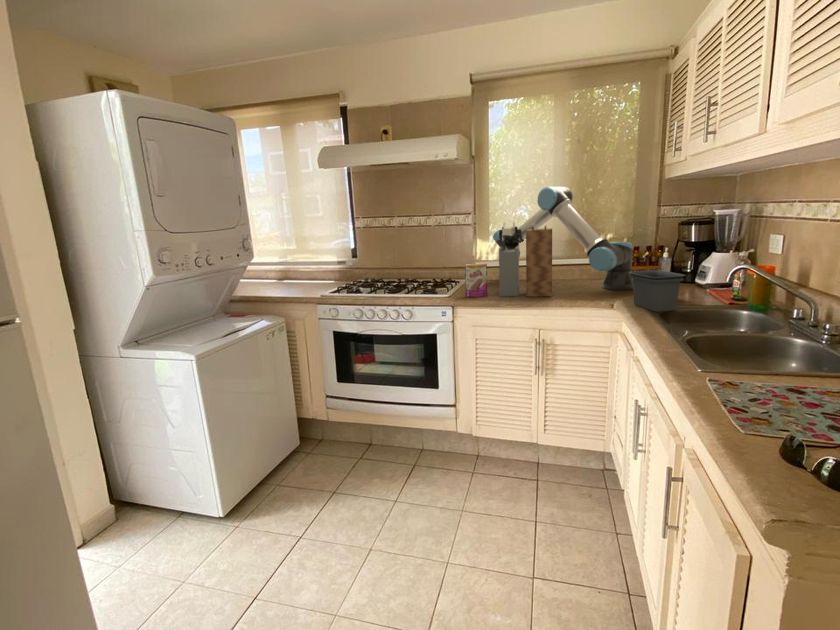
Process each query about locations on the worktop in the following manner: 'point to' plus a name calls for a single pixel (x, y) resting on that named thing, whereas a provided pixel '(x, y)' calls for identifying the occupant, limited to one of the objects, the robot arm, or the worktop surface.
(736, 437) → the worktop surface
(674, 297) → the storage bin
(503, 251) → the rack
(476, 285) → the candy bar box
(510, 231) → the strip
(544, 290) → the stand
